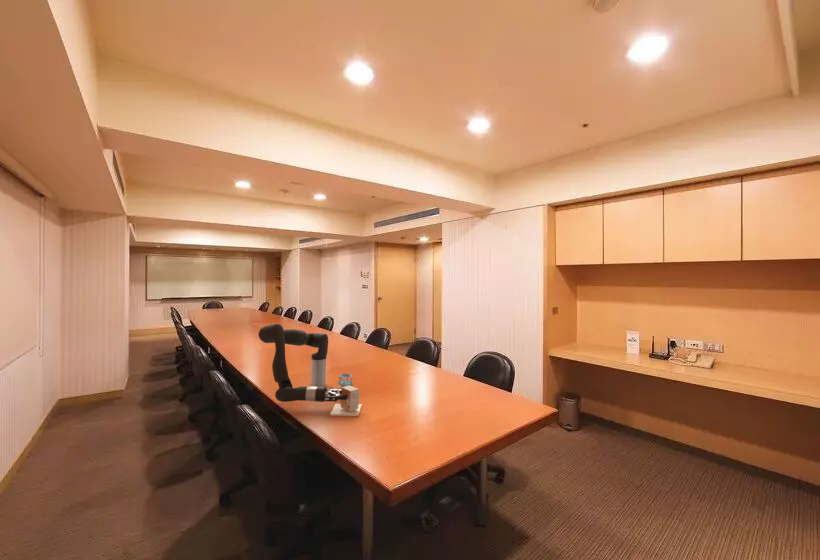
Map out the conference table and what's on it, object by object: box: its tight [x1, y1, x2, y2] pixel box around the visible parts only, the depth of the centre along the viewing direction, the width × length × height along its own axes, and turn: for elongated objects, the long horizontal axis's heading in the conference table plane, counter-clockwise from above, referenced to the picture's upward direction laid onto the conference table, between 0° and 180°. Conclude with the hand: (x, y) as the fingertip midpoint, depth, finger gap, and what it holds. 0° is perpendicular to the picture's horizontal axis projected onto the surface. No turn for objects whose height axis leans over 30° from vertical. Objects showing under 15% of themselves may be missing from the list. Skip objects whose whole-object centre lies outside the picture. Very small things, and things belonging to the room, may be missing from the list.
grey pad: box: [329, 403, 363, 417], centre depth 175 cm, size 14×14×1 cm
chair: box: [337, 373, 354, 388], centre depth 199 cm, size 8×8×12 cm
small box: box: [340, 385, 360, 412], centre depth 174 cm, size 8×6×10 cm
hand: (348, 394), depth 175 cm, fingers closed on small box, 7 cm apart
